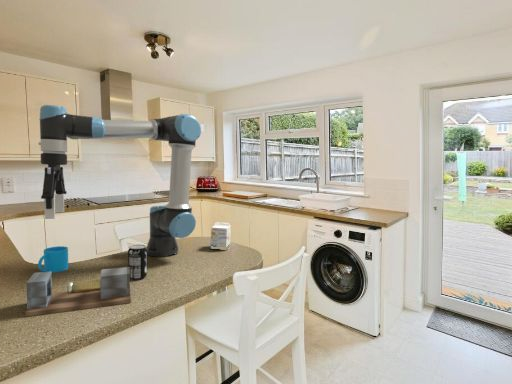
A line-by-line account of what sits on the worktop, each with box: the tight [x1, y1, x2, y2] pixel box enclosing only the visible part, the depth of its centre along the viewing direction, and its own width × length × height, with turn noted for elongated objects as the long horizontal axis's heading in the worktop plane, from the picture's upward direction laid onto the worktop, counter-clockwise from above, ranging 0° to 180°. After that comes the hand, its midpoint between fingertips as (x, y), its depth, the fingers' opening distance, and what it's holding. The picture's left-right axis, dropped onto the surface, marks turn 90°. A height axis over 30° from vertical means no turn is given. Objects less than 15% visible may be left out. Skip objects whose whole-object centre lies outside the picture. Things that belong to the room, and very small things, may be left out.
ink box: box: [210, 221, 232, 247], centre depth 163 cm, size 9×8×13 cm
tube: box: [66, 278, 101, 294], centre depth 99 cm, size 16×4×4 cm, turn 113°
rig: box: [25, 266, 132, 318], centre depth 97 cm, size 27×12×9 cm, turn 113°
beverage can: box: [127, 244, 148, 281], centre depth 118 cm, size 7×7×12 cm
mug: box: [37, 245, 69, 273], centre depth 123 cm, size 12×8×8 cm
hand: (55, 215), depth 108 cm, fingers open, 13 cm apart
